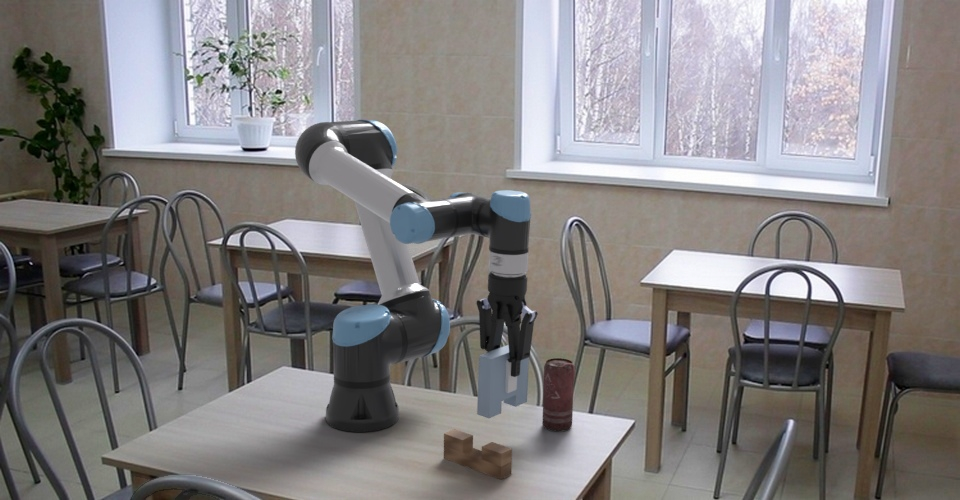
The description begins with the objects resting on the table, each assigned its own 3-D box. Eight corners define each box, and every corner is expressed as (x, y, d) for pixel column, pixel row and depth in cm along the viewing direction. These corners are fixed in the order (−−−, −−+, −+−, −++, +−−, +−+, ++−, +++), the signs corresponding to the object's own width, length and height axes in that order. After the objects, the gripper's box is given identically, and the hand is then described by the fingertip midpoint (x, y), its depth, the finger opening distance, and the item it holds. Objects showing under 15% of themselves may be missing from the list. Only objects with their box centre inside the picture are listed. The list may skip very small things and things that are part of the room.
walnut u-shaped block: (443, 458, 187) (443, 433, 186) (454, 453, 189) (454, 428, 188) (501, 479, 178) (501, 453, 177) (511, 474, 180) (511, 448, 179)
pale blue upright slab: (477, 414, 190) (479, 355, 187) (515, 397, 199) (517, 341, 196) (489, 418, 188) (491, 359, 185) (527, 401, 197) (529, 344, 194)
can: (571, 433, 199) (573, 367, 196) (540, 430, 201) (542, 365, 198) (574, 422, 205) (577, 358, 202) (544, 419, 206) (546, 356, 204)
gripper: (463, 268, 189) (459, 382, 195) (529, 283, 179) (524, 404, 185) (487, 261, 195) (483, 373, 200) (553, 276, 185) (547, 394, 190)
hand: (503, 388), depth 192 cm, fingers closed on pale blue upright slab, 3 cm apart
